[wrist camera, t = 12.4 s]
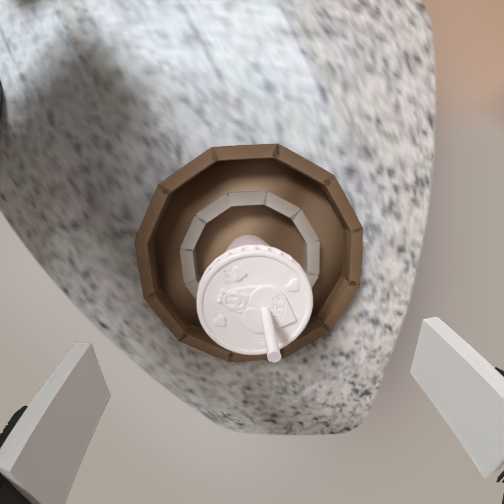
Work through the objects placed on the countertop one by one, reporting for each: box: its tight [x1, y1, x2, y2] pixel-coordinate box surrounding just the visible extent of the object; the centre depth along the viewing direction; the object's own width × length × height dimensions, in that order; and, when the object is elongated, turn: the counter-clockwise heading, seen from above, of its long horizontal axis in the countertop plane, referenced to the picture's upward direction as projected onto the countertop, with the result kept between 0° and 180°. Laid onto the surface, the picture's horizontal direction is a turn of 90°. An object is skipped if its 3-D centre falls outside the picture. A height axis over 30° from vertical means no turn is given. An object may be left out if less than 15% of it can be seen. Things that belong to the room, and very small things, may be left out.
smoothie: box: [196, 235, 313, 362], centre depth 18 cm, size 6×6×14 cm
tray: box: [135, 144, 363, 362], centre depth 25 cm, size 18×18×3 cm
